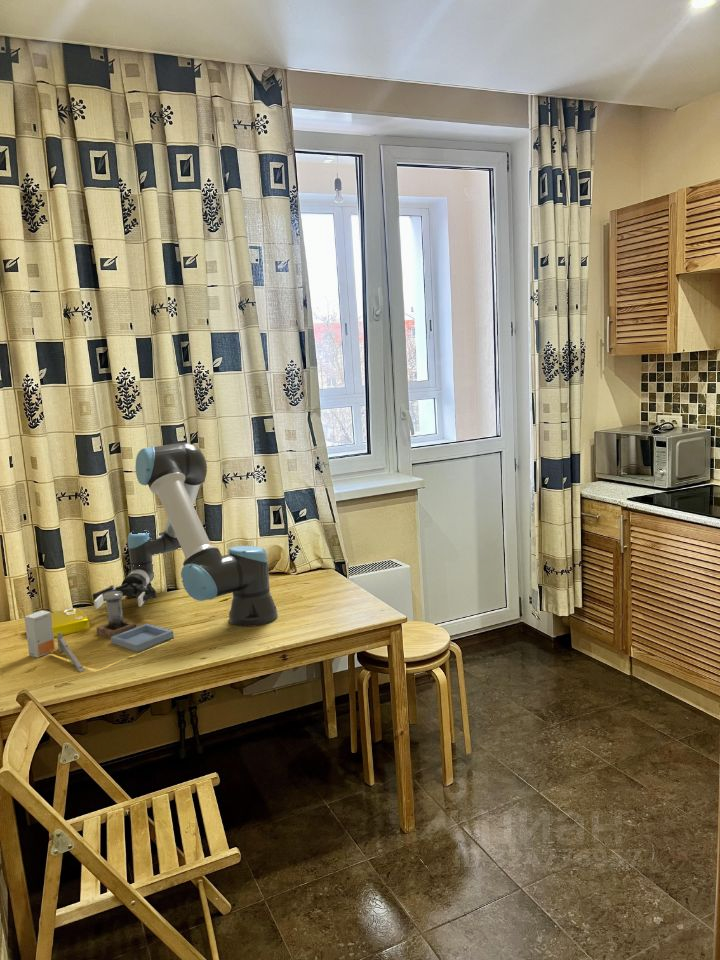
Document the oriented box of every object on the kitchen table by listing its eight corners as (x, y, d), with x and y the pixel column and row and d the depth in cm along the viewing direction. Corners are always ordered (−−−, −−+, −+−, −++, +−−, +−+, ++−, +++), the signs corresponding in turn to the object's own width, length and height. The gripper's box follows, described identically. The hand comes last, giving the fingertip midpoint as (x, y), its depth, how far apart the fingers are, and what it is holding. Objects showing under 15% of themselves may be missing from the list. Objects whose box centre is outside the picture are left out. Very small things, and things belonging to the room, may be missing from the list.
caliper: (58, 652, 217) (55, 631, 216) (62, 651, 218) (59, 630, 217) (80, 673, 201) (77, 651, 200) (84, 672, 202) (81, 650, 201)
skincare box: (38, 658, 213) (32, 618, 211) (28, 656, 215) (23, 616, 213) (56, 650, 218) (51, 611, 216) (47, 648, 220) (42, 609, 218)
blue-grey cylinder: (130, 630, 229) (126, 592, 227) (114, 636, 225) (110, 597, 223) (119, 627, 233) (115, 589, 231) (103, 632, 228) (99, 594, 226)
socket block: (136, 631, 229) (136, 623, 229) (113, 640, 223) (112, 632, 223) (120, 626, 235) (119, 619, 234) (97, 635, 228) (96, 627, 228)
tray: (173, 638, 222) (173, 631, 221) (137, 653, 212) (136, 645, 212) (147, 630, 230) (146, 623, 229) (111, 644, 220) (110, 637, 219)
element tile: (30, 630, 237) (28, 616, 236) (78, 619, 246) (77, 605, 245) (41, 643, 225) (39, 628, 224) (91, 631, 233) (90, 616, 233)
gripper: (173, 591, 254) (158, 612, 233) (100, 596, 254) (78, 617, 233) (171, 570, 253) (156, 589, 232) (97, 575, 253) (75, 594, 232)
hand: (117, 603), depth 232 cm, fingers open, 13 cm apart
